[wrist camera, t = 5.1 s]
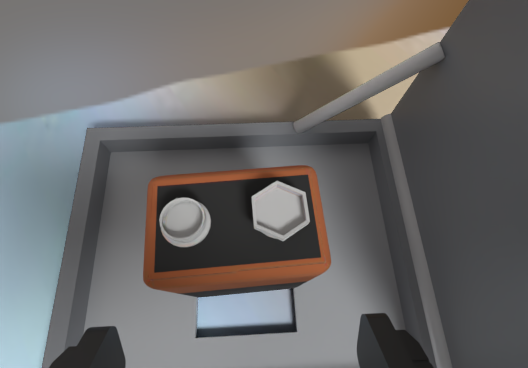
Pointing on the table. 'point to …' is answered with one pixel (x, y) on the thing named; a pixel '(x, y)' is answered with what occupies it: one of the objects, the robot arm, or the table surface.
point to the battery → (234, 231)
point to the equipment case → (338, 216)
